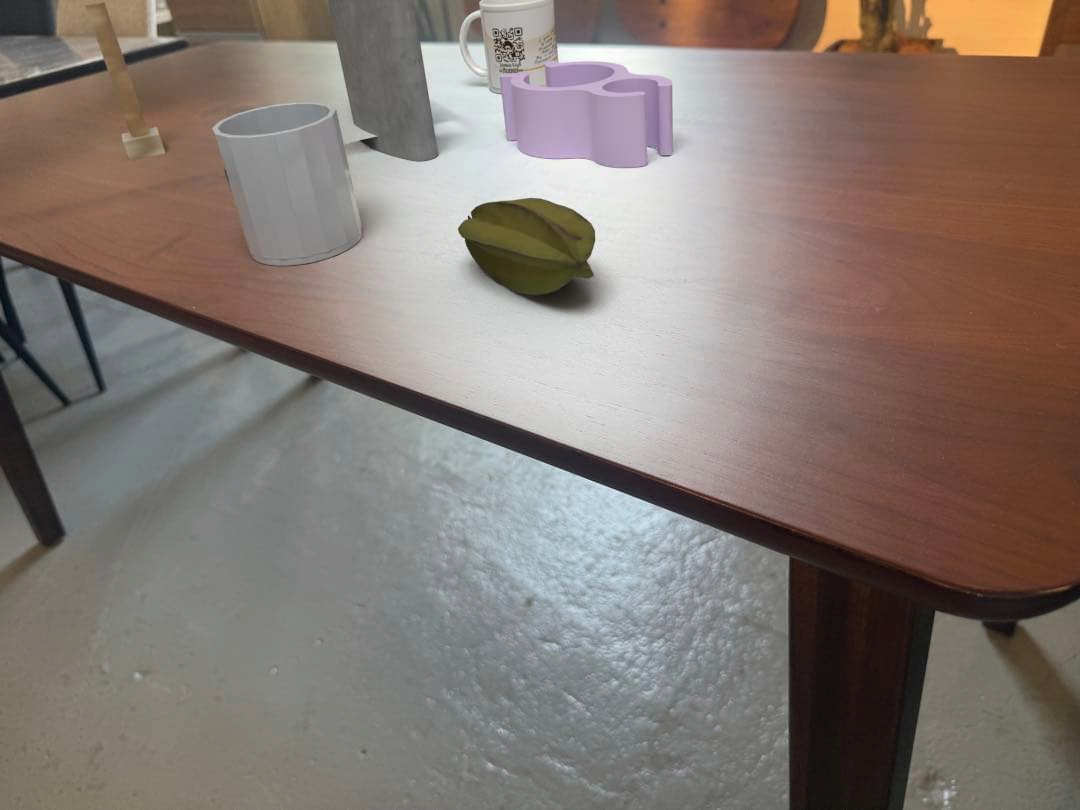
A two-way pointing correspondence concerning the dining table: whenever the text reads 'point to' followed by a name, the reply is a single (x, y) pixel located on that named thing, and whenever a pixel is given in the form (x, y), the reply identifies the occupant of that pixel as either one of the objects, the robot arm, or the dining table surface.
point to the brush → (123, 87)
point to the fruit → (529, 244)
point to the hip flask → (385, 75)
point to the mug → (513, 39)
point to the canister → (290, 182)
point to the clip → (589, 113)
